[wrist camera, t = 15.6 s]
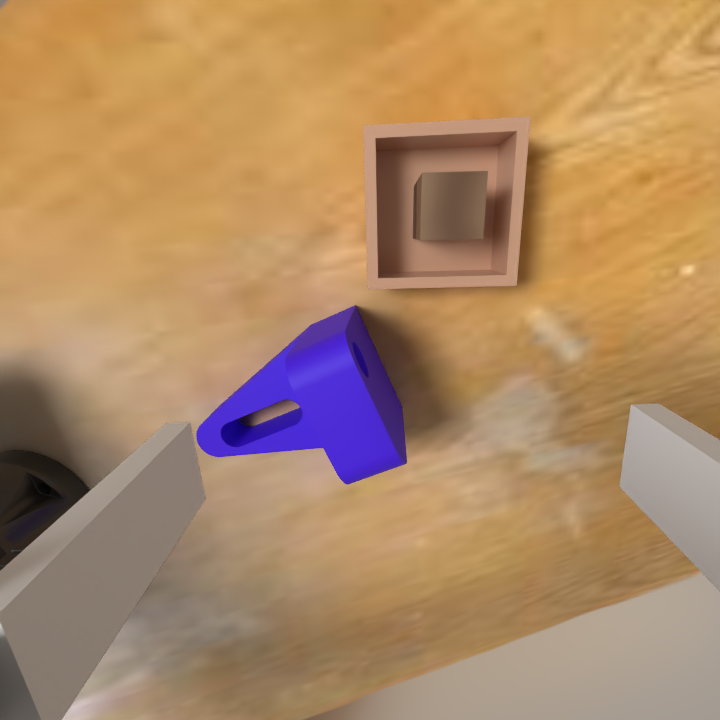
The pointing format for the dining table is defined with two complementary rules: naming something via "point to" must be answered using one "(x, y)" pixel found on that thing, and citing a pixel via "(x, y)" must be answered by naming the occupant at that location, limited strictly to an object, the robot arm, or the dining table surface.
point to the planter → (443, 154)
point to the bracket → (318, 403)
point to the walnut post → (449, 205)
